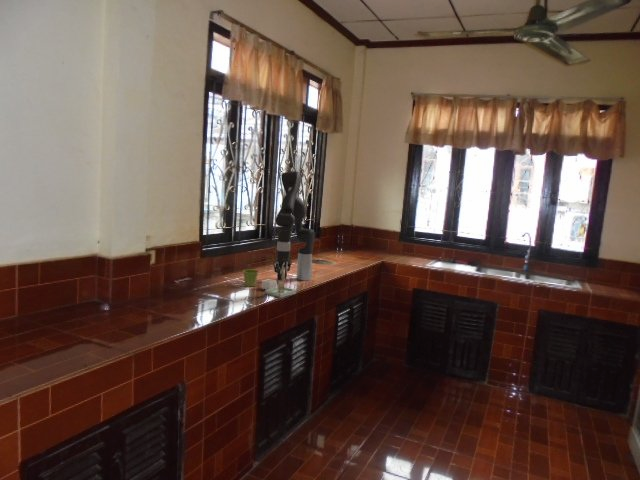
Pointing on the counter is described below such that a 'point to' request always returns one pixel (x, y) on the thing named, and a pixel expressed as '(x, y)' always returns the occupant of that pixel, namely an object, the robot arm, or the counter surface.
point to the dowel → (281, 282)
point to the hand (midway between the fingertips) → (281, 279)
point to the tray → (275, 293)
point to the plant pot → (250, 277)
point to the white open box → (269, 284)
